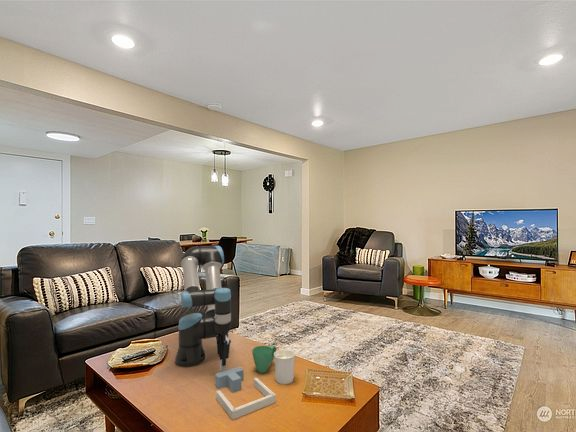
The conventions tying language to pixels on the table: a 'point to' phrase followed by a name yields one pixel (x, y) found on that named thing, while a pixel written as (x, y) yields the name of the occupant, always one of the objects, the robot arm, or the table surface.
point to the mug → (263, 357)
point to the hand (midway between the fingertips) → (223, 371)
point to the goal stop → (248, 407)
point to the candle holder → (284, 366)
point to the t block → (230, 379)
